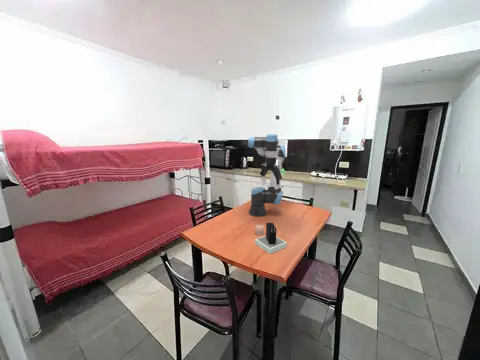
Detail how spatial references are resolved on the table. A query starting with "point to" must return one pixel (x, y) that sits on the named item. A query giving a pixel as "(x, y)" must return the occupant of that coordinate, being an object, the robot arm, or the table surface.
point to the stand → (268, 247)
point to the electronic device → (271, 233)
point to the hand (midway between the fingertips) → (269, 187)
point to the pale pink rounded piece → (259, 229)
